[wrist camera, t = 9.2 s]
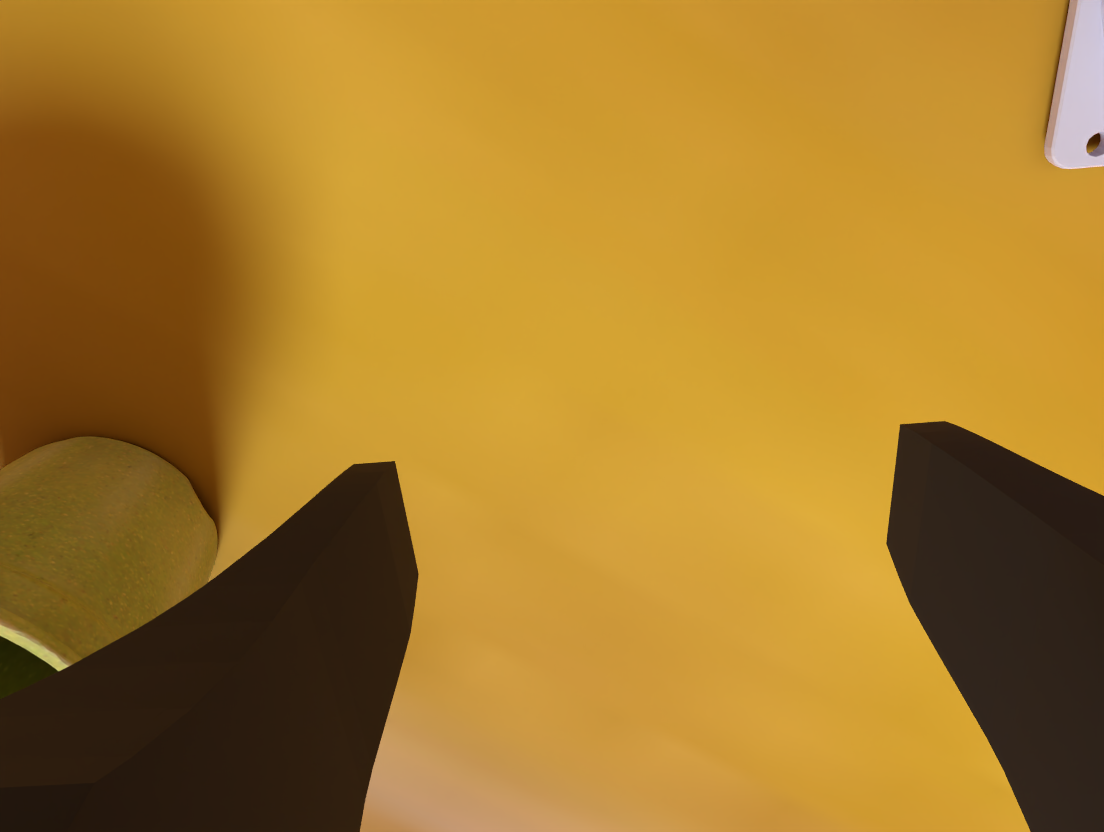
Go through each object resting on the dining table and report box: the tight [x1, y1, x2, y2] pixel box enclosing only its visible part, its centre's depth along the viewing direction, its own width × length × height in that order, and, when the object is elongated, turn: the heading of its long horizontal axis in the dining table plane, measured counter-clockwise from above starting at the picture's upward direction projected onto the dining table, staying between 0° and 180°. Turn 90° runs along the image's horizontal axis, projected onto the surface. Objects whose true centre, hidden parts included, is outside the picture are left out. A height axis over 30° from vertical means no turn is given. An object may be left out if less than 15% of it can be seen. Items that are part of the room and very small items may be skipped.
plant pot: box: [0, 436, 218, 699], centre depth 20 cm, size 9×9×9 cm
